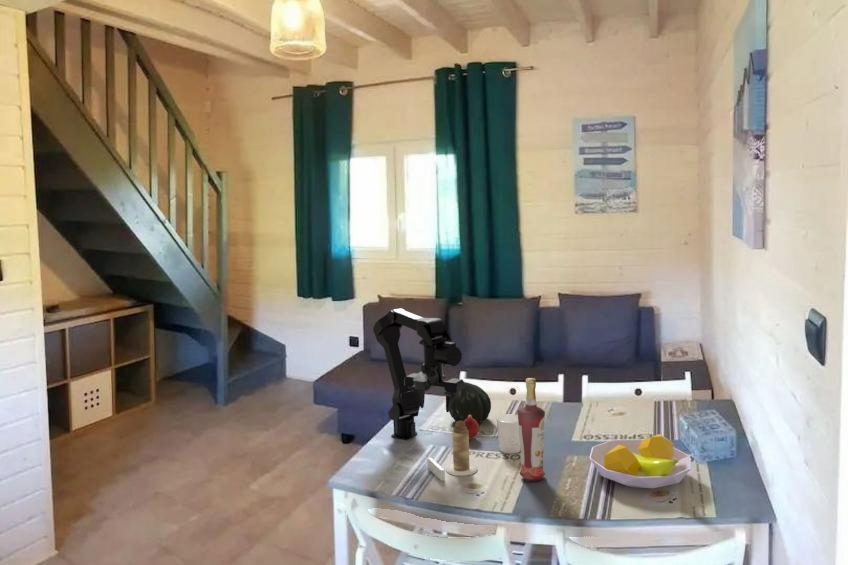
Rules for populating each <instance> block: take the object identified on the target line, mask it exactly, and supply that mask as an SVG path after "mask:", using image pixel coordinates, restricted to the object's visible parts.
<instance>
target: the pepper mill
mask: <svg viewBox="0 0 848 565" xmlns="http://www.w3.org/2000/svg"><path fill="white" fill-rule="evenodd" d="M452 457H453V458H452V460H453V465H454V470H456V471H467V470H469V469H470V464H469V463H470V439H469V431H468V430H467V427H466V425H465V423H464V422H463V421H461V420H459V421H457V422H456V421H455V425H454V426H453V430H452Z"/></svg>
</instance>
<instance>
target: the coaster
mask: <svg viewBox="0 0 848 565" xmlns="http://www.w3.org/2000/svg"><path fill="white" fill-rule="evenodd" d="M469 464H470V469H469V470H467V471H456V470H454V465H453V463H452V462H451V463H449V464H447V466H446V468H445V471H446V473H448V474H450V475H452V476H456V477H466V476H467V477H469V476H471V475H474V474H476V473H477V472H478V466H477V465H476V464H475V463H473V462H469Z"/></svg>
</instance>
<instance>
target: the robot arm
mask: <svg viewBox="0 0 848 565" xmlns="http://www.w3.org/2000/svg"><path fill="white" fill-rule="evenodd" d="M403 327H406V328H407V329H408V328H409V329H411V330H412V331H415V332H416V334H417V336H418V337H420V338H421V340H420V341H419V342H418V344H419V345H422V346H423V348H422V349H423V364H421V369H420V372H418V373H415V372H414V373H413V372H412V373H410V374H407V373H406V370H405V365H404V361H403V358H402V357H403V356H402V353H401V350H400V349H401V348H400V345H399V342H400V339H401V329H402V328H403ZM372 330H373V334H374V337H375V339H376V341H377V343H378V344H379V345H380V346H381V347H382V348H383V350H384V354H385V357H386V362H387V365H388V369H389V370H388V371H389V373H390V377H391V381H392V385H393V390H394V392H393V395H392V399H391V401H392V406H391V407H390V409H389V410H388V412H387V415H388V418H389V420H392V421H393V422H392V423H393V433H392V434H391V435H390V437H392V438H396V439H399V440H400V439H401V440H405V441H407V440H409V439H411V438H412V437H414V436H416V435H417V434H418V431H416V422H415V418H416V417H418V416H419V412H420V408H421V409H423V408H424V407H425V400H426V398H425V397H426V396H425V393H426V392H427V391H429V390H430V389H431V388H432V387H441V388H444V392H443V394H444V396H445V410H446V413H450V412H449V411H450V408H451V406H452V403H453V400H454V398H455V396H456V394H457V392H459V391H461V390H462V389H464V388H465V383H464V382H465V381H464V380H463V379H462V378H461V379H460V378H456V377H454V378H451V379H449V380H445V379H446V374H444V369H443V368H444V366H451V367H456V366H457V365H459V364H460V362H461V360H462V356H463V355H462V354H463V353H462V352H461V350H460V348H459V347H457V342H454V341H453V339H452V338H451V337H452V336H451V334H450V333H449V331H448V329H447V326H446V325H445V323H444V320H443V319H441V318H437V317H423V316H420V315H417V314H415V313H412V312H410V311H407V310H406V309H404V308H394V309H391V310H389V311H388V313H387V312H386V314H385V315H384V316H382V317H381V318H380V319H378V320H377V321H376V322H375V323H374V326H373V327H372ZM452 341H453V342H452ZM425 391H426V392H425Z"/></svg>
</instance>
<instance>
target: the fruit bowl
mask: <svg viewBox="0 0 848 565" xmlns="http://www.w3.org/2000/svg"><path fill="white" fill-rule="evenodd" d="M589 460H590V461H591V463H592V464H593V466H594V468H596V470H597V472H598V473H599V474H600V475H601V477H603V478H606V479H608V480H611V481H613V482H616V483H619V484H621V485H624V486H627V487H628V488H639V489H640V488H643V489H657V488H661V487H666V486H670V485H675V484H679V483H681V481H682V480H683V479H684V478H685V476H686V475H687V474H688V473H689V472H690V471H691V469H692V463H691V462H692V461H691V456H690V455H689V454H687V453H685V452H683V451H682V450H680V449H678V448H677V447H674V443H673V441H671V440H669V439H668V438H667V437H665V436H664V435H662V434H661V433H658V434H656V435H653V436H650V437H647V438H644V439H638V438H637V439H611V440H608V441H605V442H603V443H600V444H596V445H593V446H592V448H591V450H590V455H589Z"/></svg>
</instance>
